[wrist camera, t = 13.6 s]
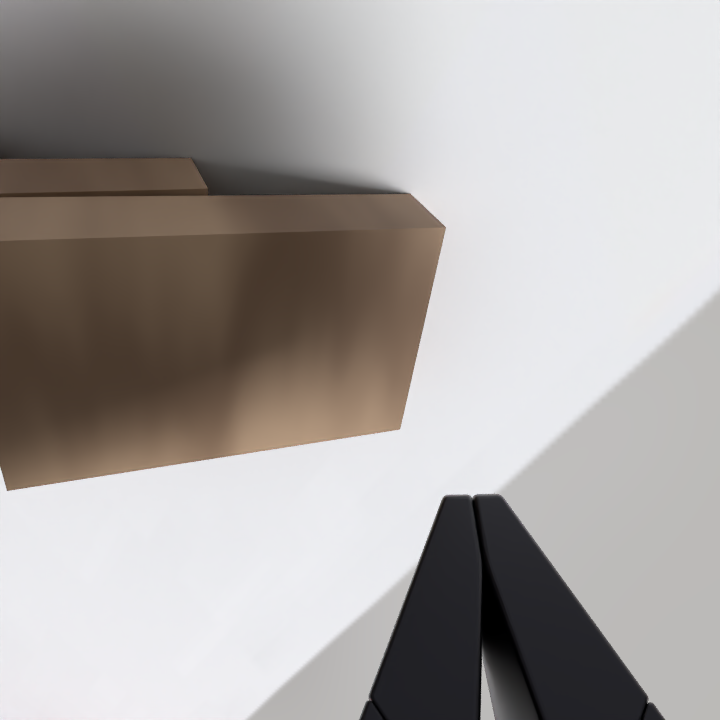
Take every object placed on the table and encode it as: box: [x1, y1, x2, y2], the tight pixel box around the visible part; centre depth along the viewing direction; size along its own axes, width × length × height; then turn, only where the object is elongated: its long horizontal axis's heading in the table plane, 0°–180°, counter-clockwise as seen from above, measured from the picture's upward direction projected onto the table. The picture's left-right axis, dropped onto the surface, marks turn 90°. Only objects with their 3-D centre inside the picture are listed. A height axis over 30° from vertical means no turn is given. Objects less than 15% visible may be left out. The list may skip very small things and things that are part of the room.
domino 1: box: [0, 194, 446, 491], centre depth 12 cm, size 5×2×8 cm
